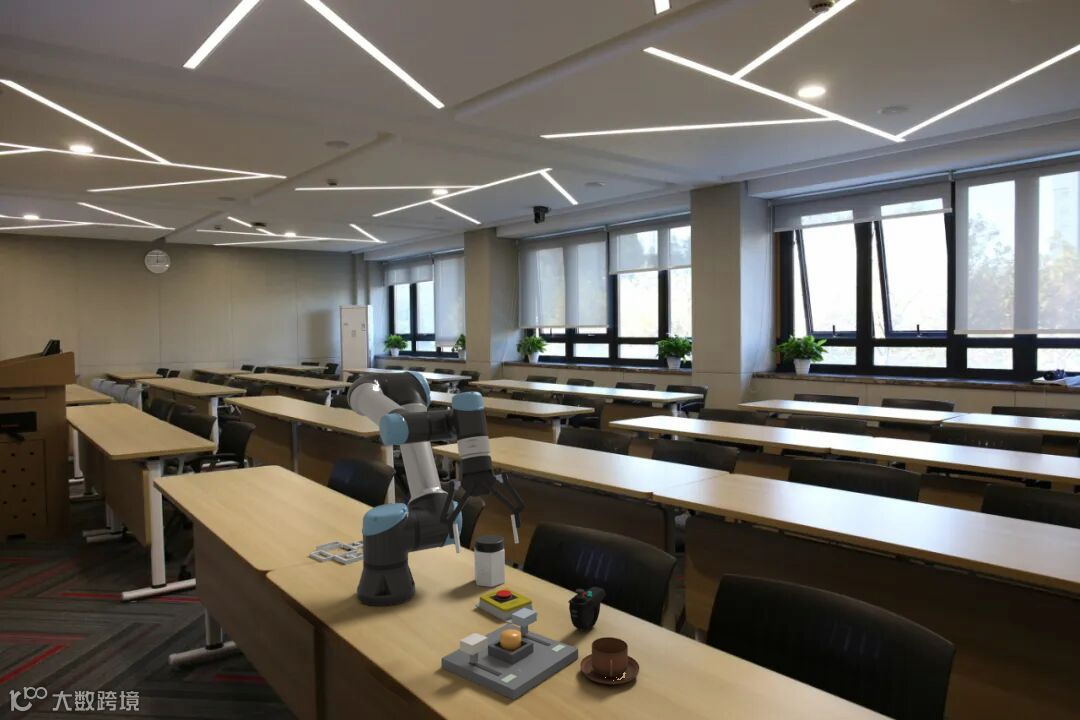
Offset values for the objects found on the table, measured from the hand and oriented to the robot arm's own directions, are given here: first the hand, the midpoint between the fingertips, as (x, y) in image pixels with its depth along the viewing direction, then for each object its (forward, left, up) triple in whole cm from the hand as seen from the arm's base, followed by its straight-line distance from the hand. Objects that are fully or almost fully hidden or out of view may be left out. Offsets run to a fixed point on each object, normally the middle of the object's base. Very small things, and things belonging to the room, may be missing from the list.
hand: (487, 548), depth 158 cm
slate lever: (+11, 0, -18) cm, 21 cm away
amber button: (+14, -8, -16) cm, 23 cm away
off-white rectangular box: (+11, -16, -18) cm, 26 cm away
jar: (-21, +23, -20) cm, 37 cm away
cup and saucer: (+33, +1, -20) cm, 38 cm away
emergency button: (-5, +12, -20) cm, 24 cm away
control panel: (+14, -8, -20) cm, 25 cm away
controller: (+17, +16, -20) cm, 31 cm away
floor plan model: (-73, +10, -20) cm, 77 cm away
